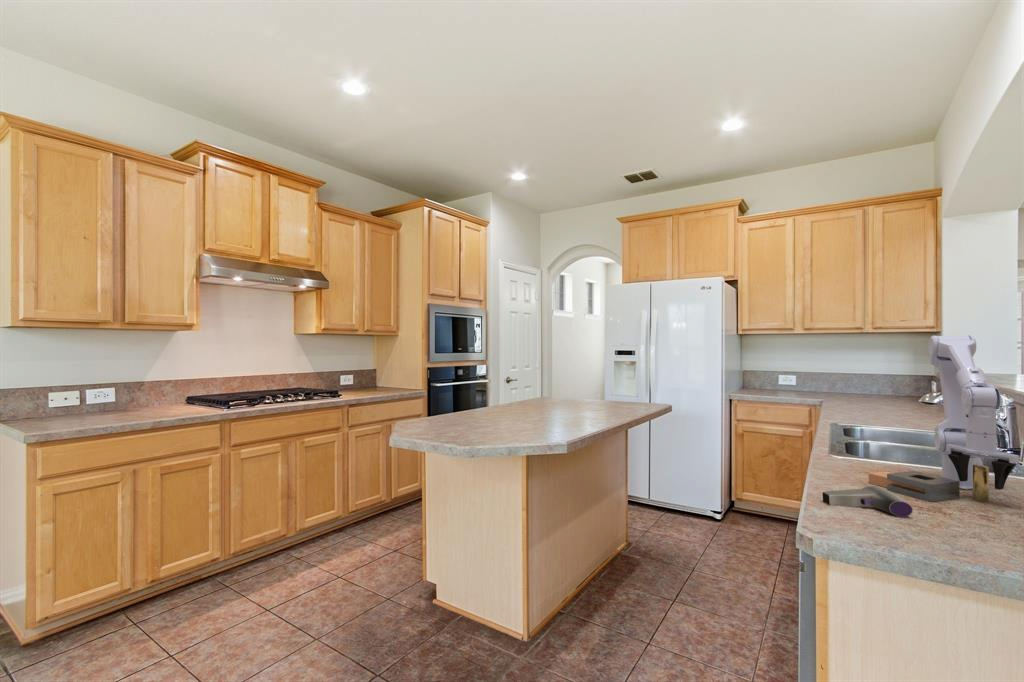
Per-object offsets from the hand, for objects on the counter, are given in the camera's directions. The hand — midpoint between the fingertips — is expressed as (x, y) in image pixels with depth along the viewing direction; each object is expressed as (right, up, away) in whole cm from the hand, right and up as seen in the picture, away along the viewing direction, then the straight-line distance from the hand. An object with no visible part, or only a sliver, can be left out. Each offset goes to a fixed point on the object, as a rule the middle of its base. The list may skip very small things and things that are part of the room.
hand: (980, 484), depth 127 cm
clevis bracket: (-11, -4, +5) cm, 13 cm away
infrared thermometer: (-35, -5, -7) cm, 36 cm away
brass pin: (0, -4, 0) cm, 4 cm away
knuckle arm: (-12, -4, +9) cm, 16 cm away
